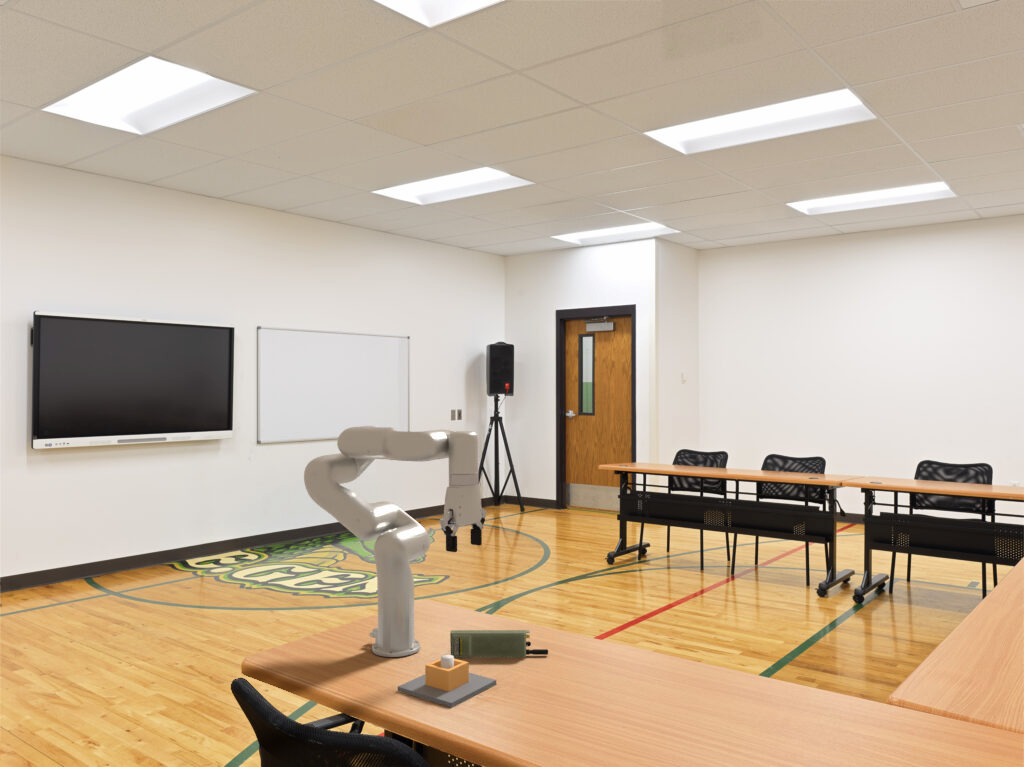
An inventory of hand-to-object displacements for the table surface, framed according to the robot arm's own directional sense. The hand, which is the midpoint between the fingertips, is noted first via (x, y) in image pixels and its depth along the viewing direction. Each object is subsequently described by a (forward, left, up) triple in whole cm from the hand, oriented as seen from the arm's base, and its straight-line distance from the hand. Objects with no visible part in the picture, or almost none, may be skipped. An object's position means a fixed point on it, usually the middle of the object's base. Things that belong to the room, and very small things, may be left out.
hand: (464, 548), depth 196 cm
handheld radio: (+5, +8, -29) cm, 30 cm away
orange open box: (+8, -16, -27) cm, 33 cm away
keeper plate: (+8, -16, -28) cm, 33 cm away
